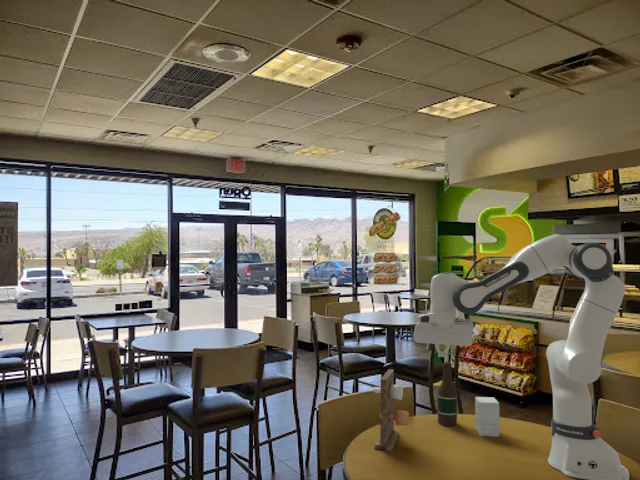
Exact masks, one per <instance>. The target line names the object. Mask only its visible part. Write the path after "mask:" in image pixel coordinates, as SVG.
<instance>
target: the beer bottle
mask: <svg viewBox="0 0 640 480" xmlns="http://www.w3.org/2000/svg"><path fill="white" fill-rule="evenodd" d="M452 364H453V363H451V362H449V361H445V362H443V363H442V367H443V368H442V381H441V383H440V384H439V387H438V390H437V423H438V424H439V425H441V426H444V427H454V426H456V425H457V422H458V395H457V389H456V386H455V385H454V382H453V378H452V377H453V376H452V366H453V365H452Z"/></svg>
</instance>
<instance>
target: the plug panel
mask: <svg viewBox="0 0 640 480" xmlns="http://www.w3.org/2000/svg"><path fill="white" fill-rule="evenodd" d="M394 375H395V370H394V369H392V368H391V369H390V368H388V369H387V371H386V372H385V373H384V374H383V376H382V377H381V378H380V388H381V393H380V413H379V419H380V421H379V422H380V424H379V425H380V431H379V433H380V434H379V435H378V437H377V439H376V441H375V442H374V450H381V451H389V452H393V450H394V447H395V445H396V443H397V441H398V437H399V436H400V431H399V430H397V429H394V422H395V420H393V419H389V414H394V412H395V411H394V405H395V403H394V401H395V399H390V394H389V389H390V385H391V384H394V382H395V380H394V379H395V378H394Z"/></svg>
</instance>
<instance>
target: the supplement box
mask: <svg viewBox="0 0 640 480" xmlns="http://www.w3.org/2000/svg"><path fill="white" fill-rule="evenodd" d="M474 402H475V403H474V404H475V405H474V408H475V411H474V412H475V415H474V417H475V422H474V423H475V425H474V426H475V430H476V432H477V433H478V435H479V437H500V402H499V401H498V400H497V399H496V398H495V397H493V396H492V397H490V396H489V397H488V396H475V398H474Z"/></svg>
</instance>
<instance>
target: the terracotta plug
mask: <svg viewBox="0 0 640 480" xmlns="http://www.w3.org/2000/svg"><path fill="white" fill-rule="evenodd" d="M409 417H410V414H409V411H408V410H402V409H401V410H400V409H396V411H395V414H389V419H393V420H394V422H395V425H397V426H404V427H408V425H409Z"/></svg>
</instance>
